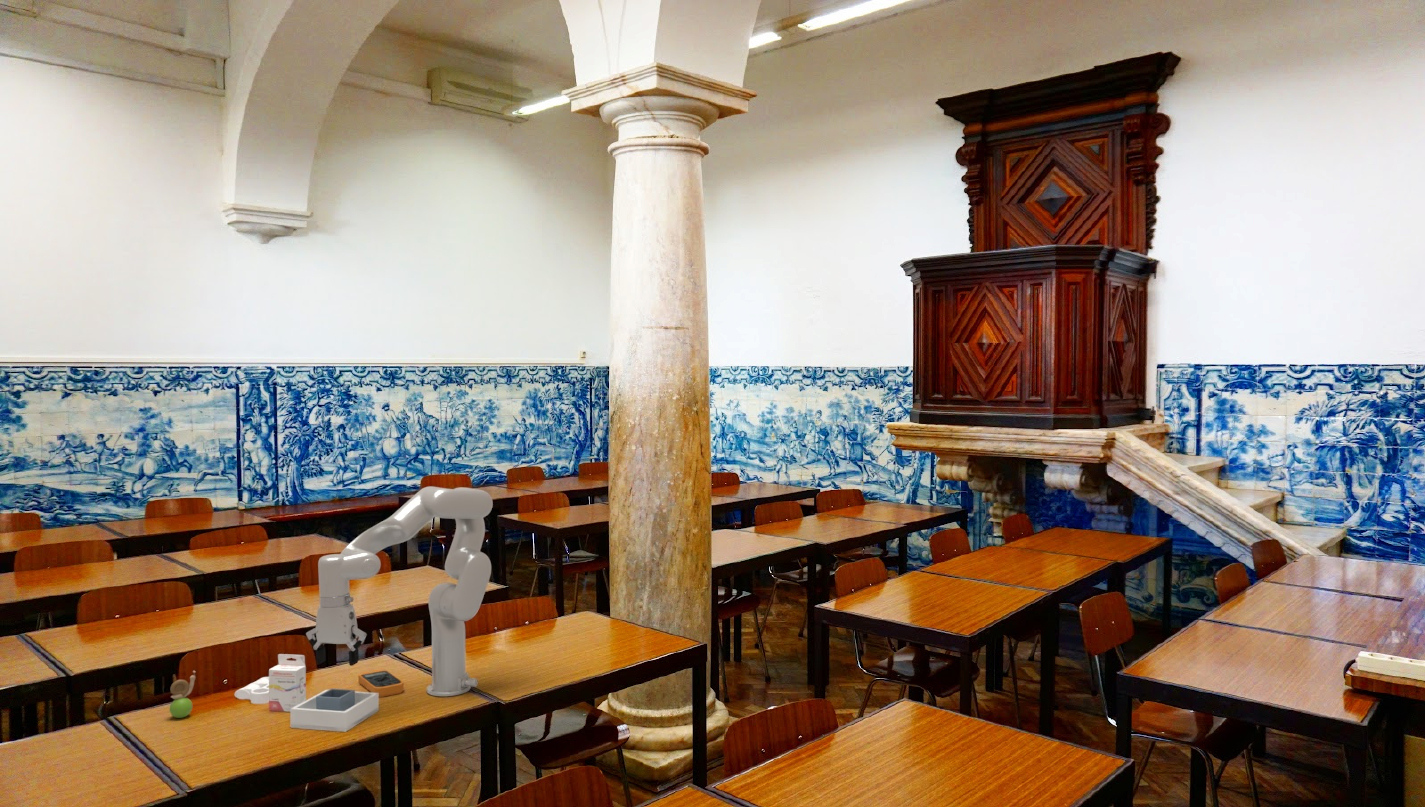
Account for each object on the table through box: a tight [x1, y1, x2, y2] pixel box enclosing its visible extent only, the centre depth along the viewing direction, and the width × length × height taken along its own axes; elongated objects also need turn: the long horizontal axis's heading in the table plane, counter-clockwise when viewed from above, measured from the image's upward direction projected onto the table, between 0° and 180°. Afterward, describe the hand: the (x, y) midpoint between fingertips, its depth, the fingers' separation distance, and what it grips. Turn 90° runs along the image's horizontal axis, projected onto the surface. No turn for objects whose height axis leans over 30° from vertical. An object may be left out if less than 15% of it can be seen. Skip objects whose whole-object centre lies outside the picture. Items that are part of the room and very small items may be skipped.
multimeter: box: [357, 668, 405, 698], centre depth 281 cm, size 9×18×3 cm, turn 38°
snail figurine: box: [169, 670, 196, 719], centre depth 257 cm, size 5×6×12 cm
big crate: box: [289, 689, 380, 733], centre depth 255 cm, size 16×16×5 cm
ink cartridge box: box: [268, 653, 307, 713], centre depth 263 cm, size 9×5×15 cm, turn 84°
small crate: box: [316, 688, 356, 711], centre depth 255 cm, size 7×7×6 cm
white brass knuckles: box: [234, 676, 269, 705], centre depth 277 cm, size 3×18×15 cm
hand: (337, 663), depth 255 cm, fingers open, 9 cm apart
